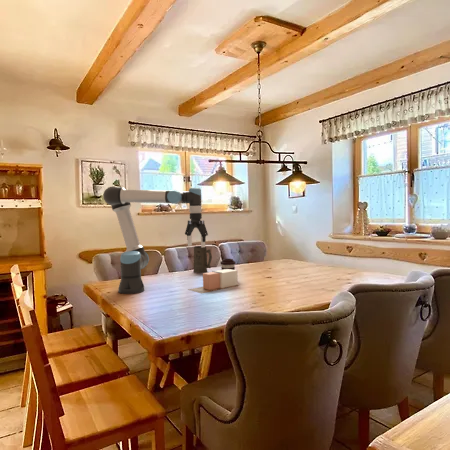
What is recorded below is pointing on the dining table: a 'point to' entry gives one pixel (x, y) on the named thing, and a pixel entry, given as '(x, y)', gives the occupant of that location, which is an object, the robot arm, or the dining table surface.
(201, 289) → the board
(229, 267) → the coffee cup
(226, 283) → the cream white block
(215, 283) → the stub
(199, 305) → the dining table surface
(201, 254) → the beer stein
